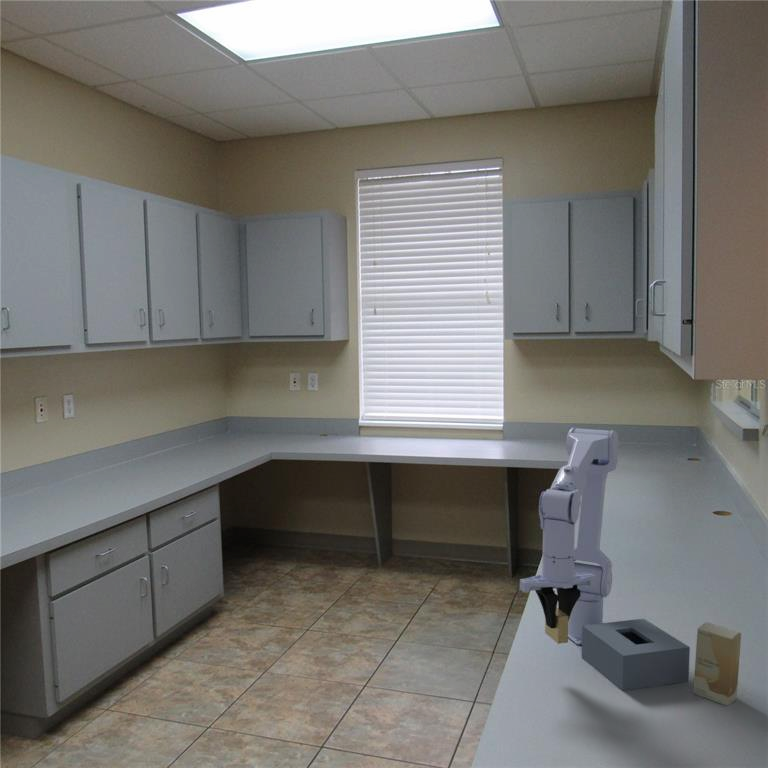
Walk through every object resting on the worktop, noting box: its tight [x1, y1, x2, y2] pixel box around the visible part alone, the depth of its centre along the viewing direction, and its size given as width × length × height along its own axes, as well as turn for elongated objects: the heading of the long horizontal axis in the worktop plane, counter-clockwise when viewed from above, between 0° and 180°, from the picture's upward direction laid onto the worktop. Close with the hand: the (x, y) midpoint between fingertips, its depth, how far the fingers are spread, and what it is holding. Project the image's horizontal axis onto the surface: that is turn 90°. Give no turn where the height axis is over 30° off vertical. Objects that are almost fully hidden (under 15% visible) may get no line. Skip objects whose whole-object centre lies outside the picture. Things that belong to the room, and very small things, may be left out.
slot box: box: [581, 618, 691, 691], centre depth 141 cm, size 14×14×6 cm
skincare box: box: [692, 622, 742, 707], centre depth 130 cm, size 6×4×12 cm
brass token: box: [544, 607, 569, 645], centre depth 137 cm, size 5×2×5 cm, turn 15°
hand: (556, 625), depth 137 cm, fingers closed on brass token, 2 cm apart
